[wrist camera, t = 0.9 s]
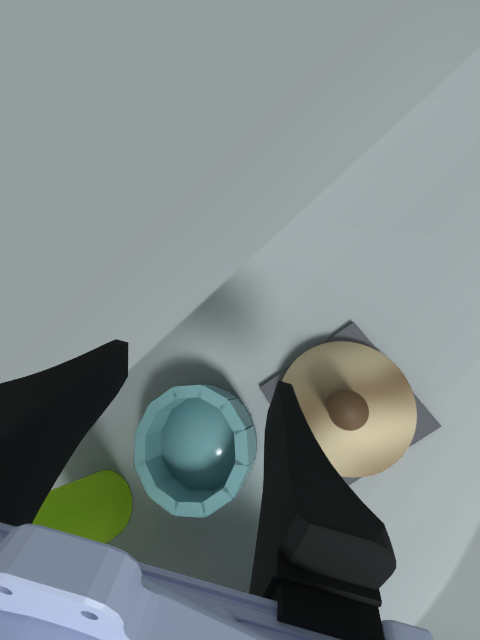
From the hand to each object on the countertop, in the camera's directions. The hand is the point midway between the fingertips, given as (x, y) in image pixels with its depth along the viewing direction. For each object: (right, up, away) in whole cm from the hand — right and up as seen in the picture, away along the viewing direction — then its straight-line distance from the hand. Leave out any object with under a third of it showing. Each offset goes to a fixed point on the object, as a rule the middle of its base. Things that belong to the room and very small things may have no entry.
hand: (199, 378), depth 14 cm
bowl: (-1, -8, +13) cm, 16 cm away
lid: (+10, -4, +10) cm, 15 cm away
